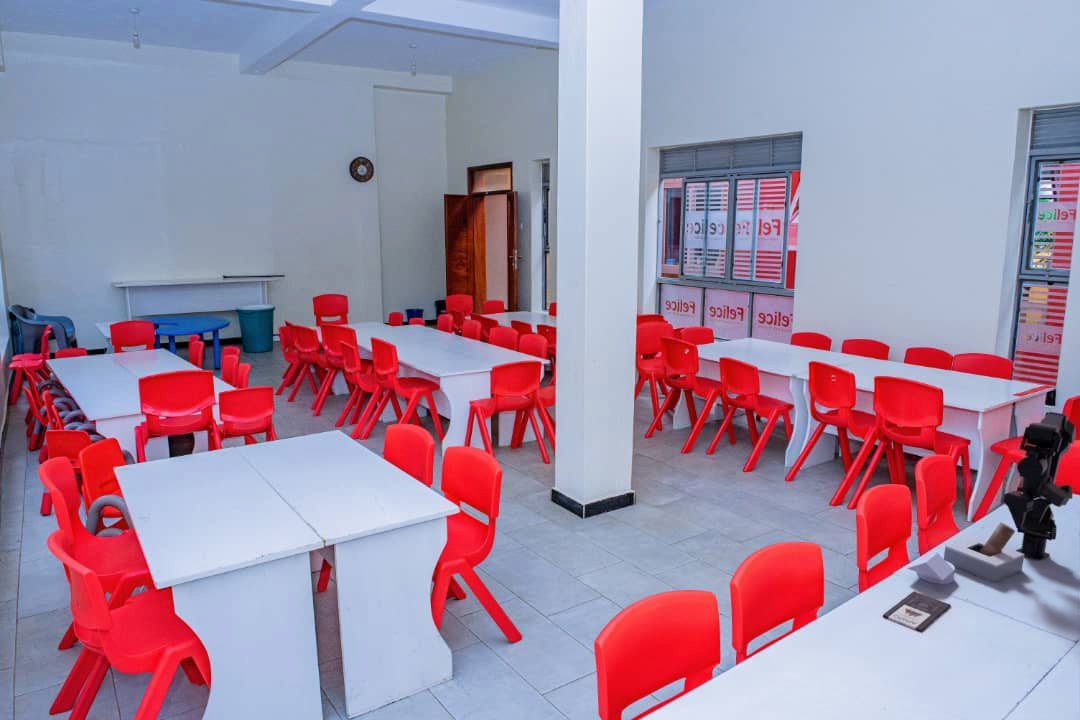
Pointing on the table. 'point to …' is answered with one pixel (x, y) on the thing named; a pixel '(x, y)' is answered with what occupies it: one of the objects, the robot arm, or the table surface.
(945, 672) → the table surface
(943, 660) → the table surface
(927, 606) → the chocolate bar
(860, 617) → the table surface
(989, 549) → the peg
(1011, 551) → the box
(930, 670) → the table surface
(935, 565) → the wedge on round base
